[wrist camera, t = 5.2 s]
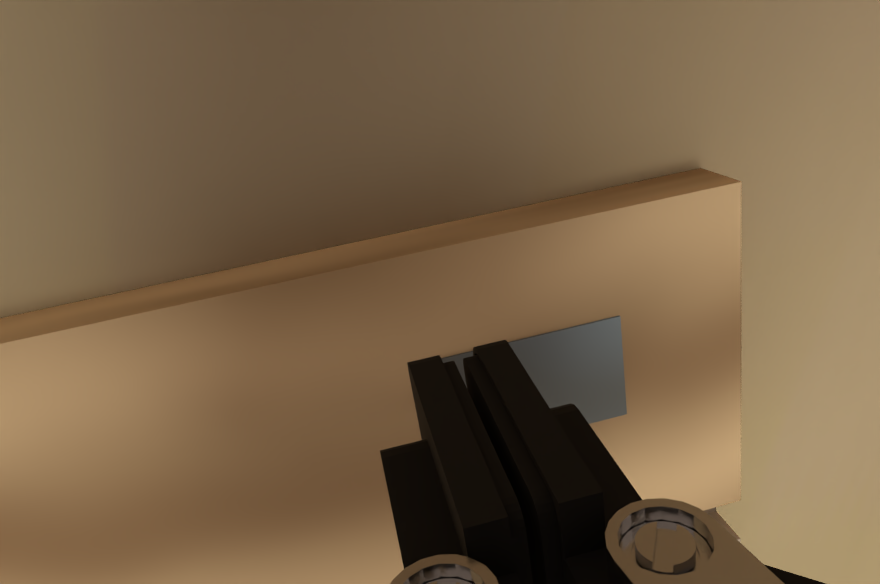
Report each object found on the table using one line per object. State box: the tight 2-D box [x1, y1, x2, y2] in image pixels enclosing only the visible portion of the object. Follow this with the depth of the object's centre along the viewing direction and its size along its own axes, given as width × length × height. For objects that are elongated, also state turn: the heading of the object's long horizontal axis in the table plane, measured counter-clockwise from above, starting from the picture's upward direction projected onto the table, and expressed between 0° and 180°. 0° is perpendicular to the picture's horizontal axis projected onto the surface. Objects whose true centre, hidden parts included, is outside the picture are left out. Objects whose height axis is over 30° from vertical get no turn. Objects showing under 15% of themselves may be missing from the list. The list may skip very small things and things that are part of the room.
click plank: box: [0, 168, 742, 584], centre depth 15 cm, size 8×24×2 cm, turn 99°
